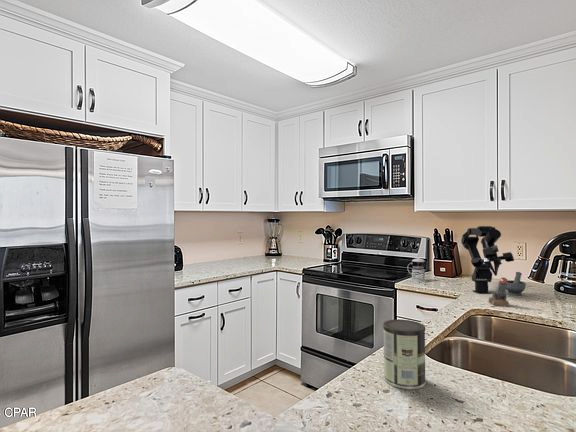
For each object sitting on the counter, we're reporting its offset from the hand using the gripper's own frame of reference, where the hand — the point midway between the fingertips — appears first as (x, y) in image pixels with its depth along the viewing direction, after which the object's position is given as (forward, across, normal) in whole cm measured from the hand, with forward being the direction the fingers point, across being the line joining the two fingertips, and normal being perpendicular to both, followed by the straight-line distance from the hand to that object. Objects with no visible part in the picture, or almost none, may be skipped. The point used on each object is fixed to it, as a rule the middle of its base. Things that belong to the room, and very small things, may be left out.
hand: (495, 275), depth 176 cm
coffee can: (+61, -16, -96) cm, 115 cm away
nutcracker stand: (+15, -2, -2) cm, 16 cm away
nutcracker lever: (+13, 0, -5) cm, 14 cm away
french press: (-14, -48, +29) cm, 58 cm away
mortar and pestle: (+3, +4, +25) cm, 26 cm away
